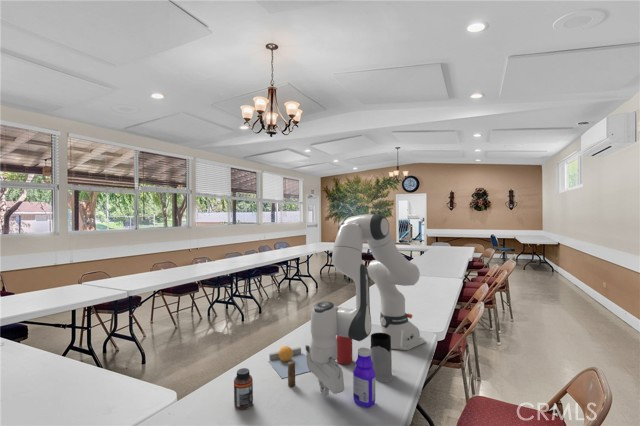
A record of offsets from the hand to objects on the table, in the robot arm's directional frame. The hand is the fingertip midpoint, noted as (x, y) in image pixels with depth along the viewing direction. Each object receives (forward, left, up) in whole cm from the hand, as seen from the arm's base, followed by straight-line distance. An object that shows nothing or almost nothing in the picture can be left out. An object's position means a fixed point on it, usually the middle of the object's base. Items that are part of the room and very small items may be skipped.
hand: (324, 393), depth 111 cm
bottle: (-10, +9, -2) cm, 13 cm away
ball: (+1, -32, +1) cm, 32 cm away
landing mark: (0, -27, -2) cm, 27 cm away
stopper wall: (0, -36, -2) cm, 36 cm away
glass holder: (-28, -5, -2) cm, 28 cm away
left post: (+6, -13, -2) cm, 15 cm away
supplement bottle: (+25, -9, -2) cm, 27 cm away
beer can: (-20, -20, -2) cm, 28 cm away
